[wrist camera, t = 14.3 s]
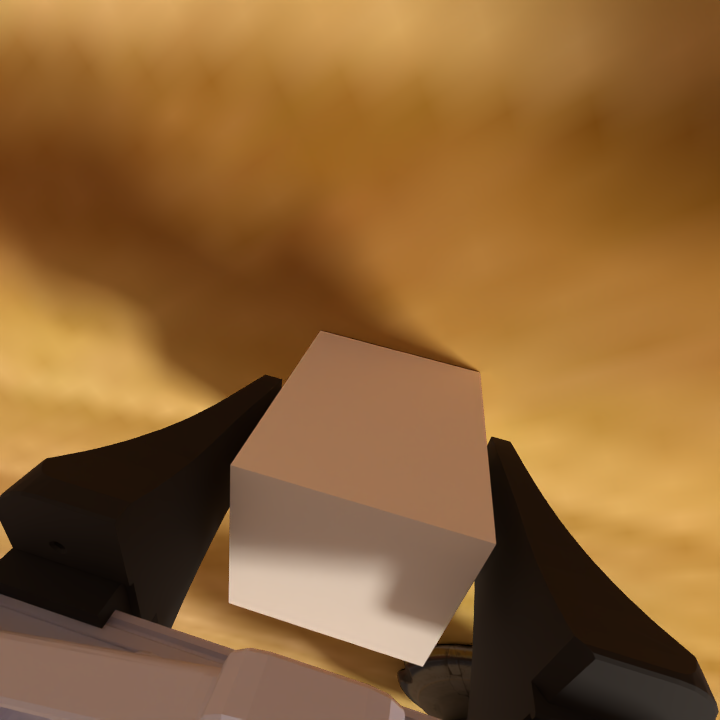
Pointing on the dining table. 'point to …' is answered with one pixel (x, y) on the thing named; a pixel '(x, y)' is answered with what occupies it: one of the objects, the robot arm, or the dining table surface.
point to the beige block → (364, 498)
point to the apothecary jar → (440, 682)
